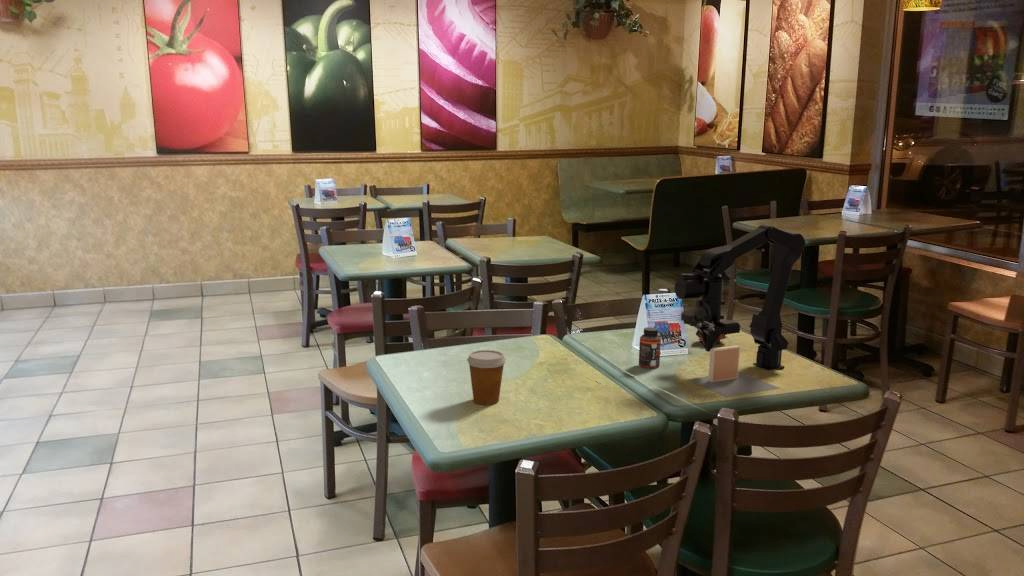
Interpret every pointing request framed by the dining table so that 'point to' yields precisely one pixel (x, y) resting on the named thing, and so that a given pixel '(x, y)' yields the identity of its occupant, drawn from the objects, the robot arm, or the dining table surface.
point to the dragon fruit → (717, 339)
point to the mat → (734, 385)
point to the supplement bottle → (649, 348)
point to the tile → (724, 363)
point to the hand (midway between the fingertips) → (707, 351)
